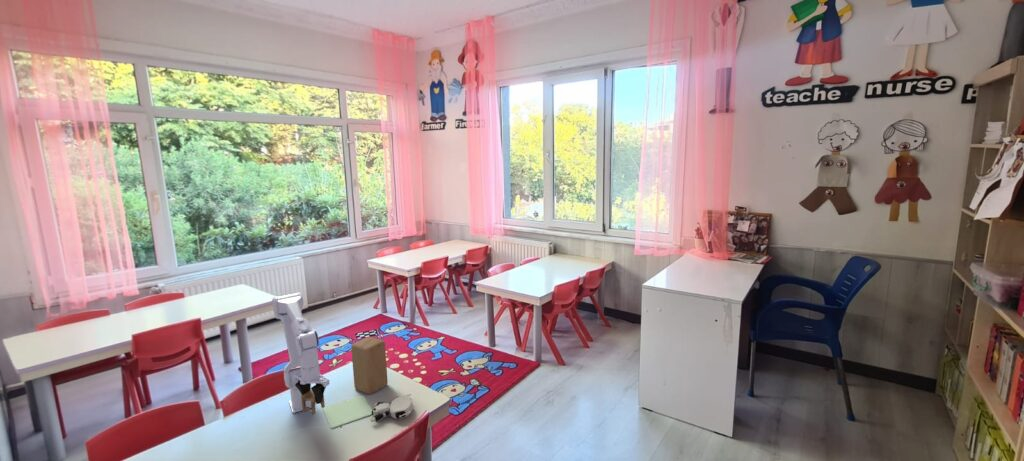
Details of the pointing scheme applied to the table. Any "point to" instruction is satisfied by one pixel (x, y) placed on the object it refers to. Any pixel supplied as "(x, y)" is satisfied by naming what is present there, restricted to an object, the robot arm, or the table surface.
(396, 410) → the robot toy
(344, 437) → the table surface
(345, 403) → the sage mat
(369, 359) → the wooden block
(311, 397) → the brown handled box
